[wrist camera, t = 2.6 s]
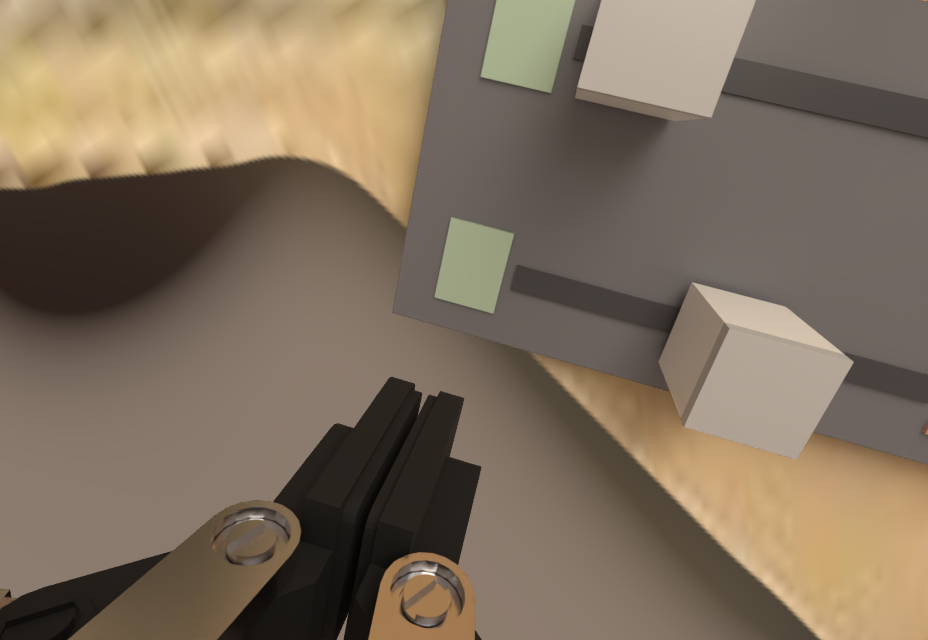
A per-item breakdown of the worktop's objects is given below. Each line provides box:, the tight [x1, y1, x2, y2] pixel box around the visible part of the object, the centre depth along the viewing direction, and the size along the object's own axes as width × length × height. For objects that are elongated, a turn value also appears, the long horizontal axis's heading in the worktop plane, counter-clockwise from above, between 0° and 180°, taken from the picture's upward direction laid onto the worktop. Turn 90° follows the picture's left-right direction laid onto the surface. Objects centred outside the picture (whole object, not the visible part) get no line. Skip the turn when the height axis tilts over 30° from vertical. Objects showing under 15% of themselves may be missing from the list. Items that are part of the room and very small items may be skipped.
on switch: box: [575, 0, 756, 121], centre depth 17 cm, size 4×4×6 cm
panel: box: [392, 0, 928, 465], centre depth 22 cm, size 30×17×2 cm, turn 77°
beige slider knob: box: [659, 282, 854, 460], centre depth 20 cm, size 4×4×6 cm
